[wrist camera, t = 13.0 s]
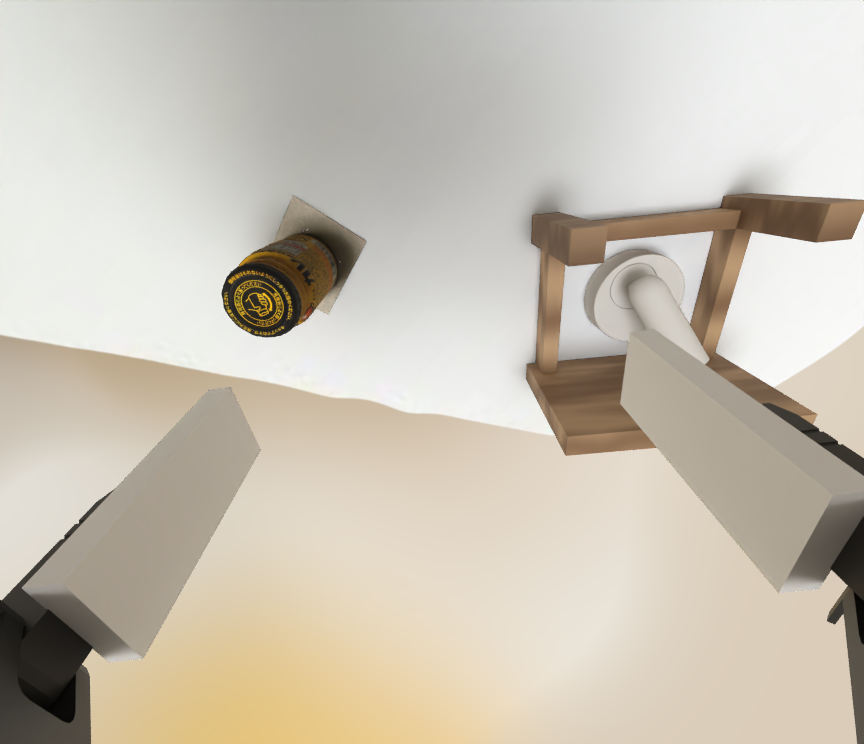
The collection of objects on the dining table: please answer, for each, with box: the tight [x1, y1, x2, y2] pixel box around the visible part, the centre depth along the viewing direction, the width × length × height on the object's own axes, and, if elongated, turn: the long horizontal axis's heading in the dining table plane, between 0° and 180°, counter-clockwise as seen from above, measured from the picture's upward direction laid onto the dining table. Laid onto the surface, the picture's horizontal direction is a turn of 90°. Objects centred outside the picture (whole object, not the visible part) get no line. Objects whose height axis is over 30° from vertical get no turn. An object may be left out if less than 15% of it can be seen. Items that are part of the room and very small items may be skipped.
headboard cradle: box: [526, 193, 864, 456], centre depth 32 cm, size 18×20×13 cm
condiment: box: [222, 196, 366, 337], centre depth 30 cm, size 7×8×12 cm
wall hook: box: [584, 249, 709, 364], centre depth 34 cm, size 9×10×10 cm
